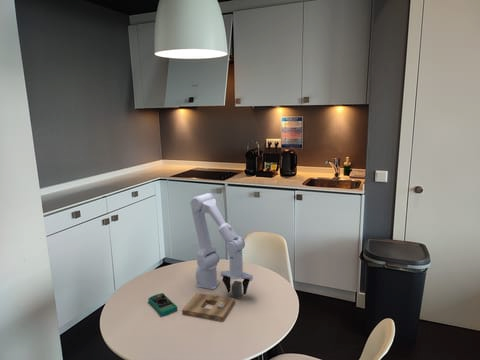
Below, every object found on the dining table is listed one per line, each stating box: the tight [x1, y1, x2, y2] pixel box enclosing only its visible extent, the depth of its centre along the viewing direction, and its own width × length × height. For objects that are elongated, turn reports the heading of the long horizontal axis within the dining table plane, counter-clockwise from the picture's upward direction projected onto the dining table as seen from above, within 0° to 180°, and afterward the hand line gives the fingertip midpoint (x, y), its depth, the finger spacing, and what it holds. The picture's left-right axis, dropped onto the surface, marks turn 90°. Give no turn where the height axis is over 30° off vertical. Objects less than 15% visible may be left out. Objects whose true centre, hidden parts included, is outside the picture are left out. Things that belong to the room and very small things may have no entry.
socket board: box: [181, 292, 236, 322], centre depth 152 cm, size 18×14×3 cm
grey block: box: [231, 280, 243, 300], centre depth 161 cm, size 3×4×6 cm
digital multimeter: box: [147, 292, 178, 317], centre depth 154 cm, size 7×15×3 cm, turn 36°
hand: (236, 292), depth 161 cm, fingers open, 7 cm apart
